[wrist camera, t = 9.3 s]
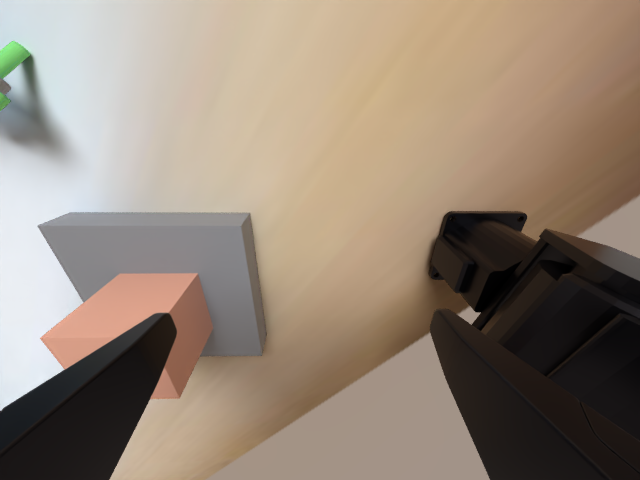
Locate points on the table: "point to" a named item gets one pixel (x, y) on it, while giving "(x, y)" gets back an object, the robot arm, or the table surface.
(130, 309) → the salmon pink cube
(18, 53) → the blue spiky toy
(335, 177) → the table surface
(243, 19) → the table surface
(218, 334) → the plinth
